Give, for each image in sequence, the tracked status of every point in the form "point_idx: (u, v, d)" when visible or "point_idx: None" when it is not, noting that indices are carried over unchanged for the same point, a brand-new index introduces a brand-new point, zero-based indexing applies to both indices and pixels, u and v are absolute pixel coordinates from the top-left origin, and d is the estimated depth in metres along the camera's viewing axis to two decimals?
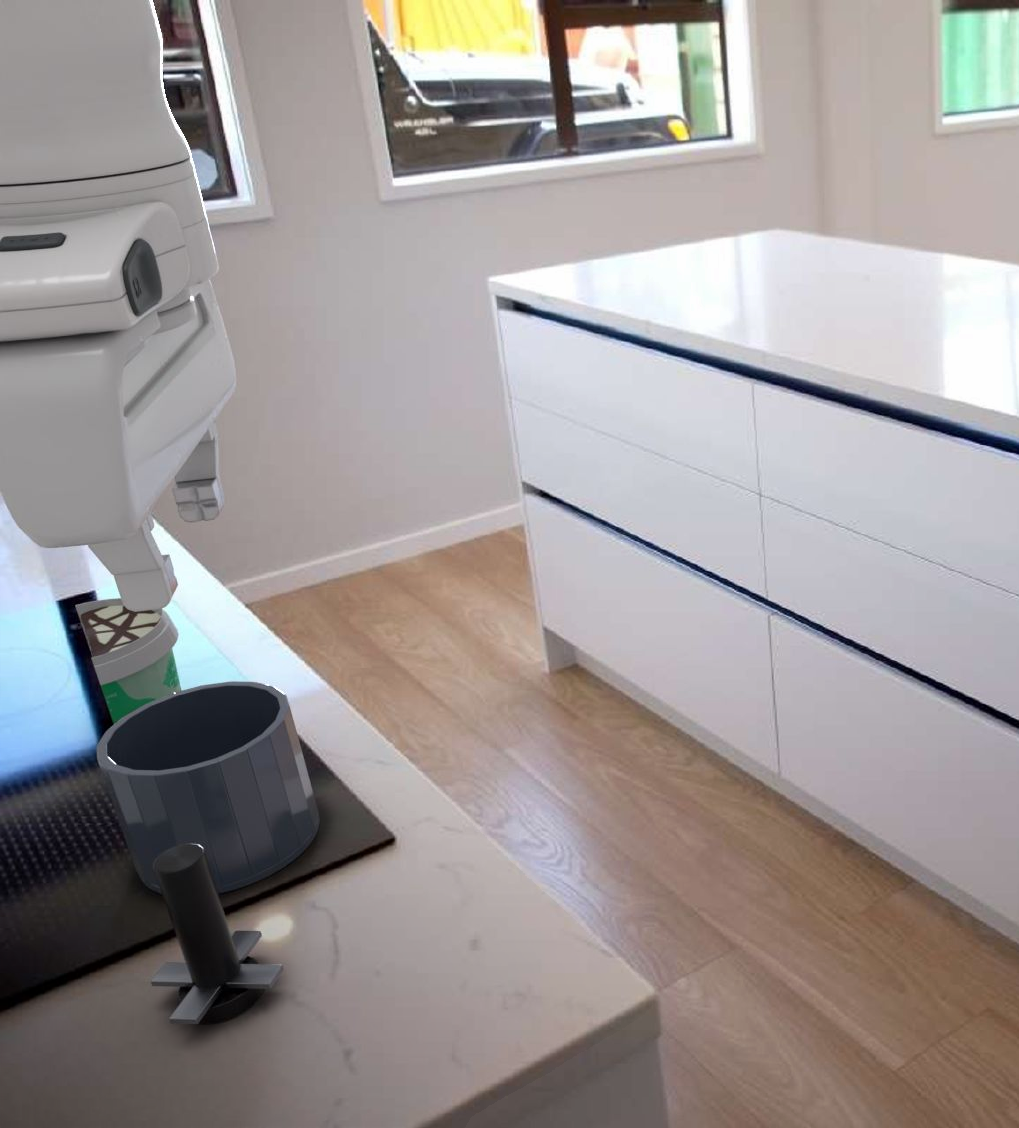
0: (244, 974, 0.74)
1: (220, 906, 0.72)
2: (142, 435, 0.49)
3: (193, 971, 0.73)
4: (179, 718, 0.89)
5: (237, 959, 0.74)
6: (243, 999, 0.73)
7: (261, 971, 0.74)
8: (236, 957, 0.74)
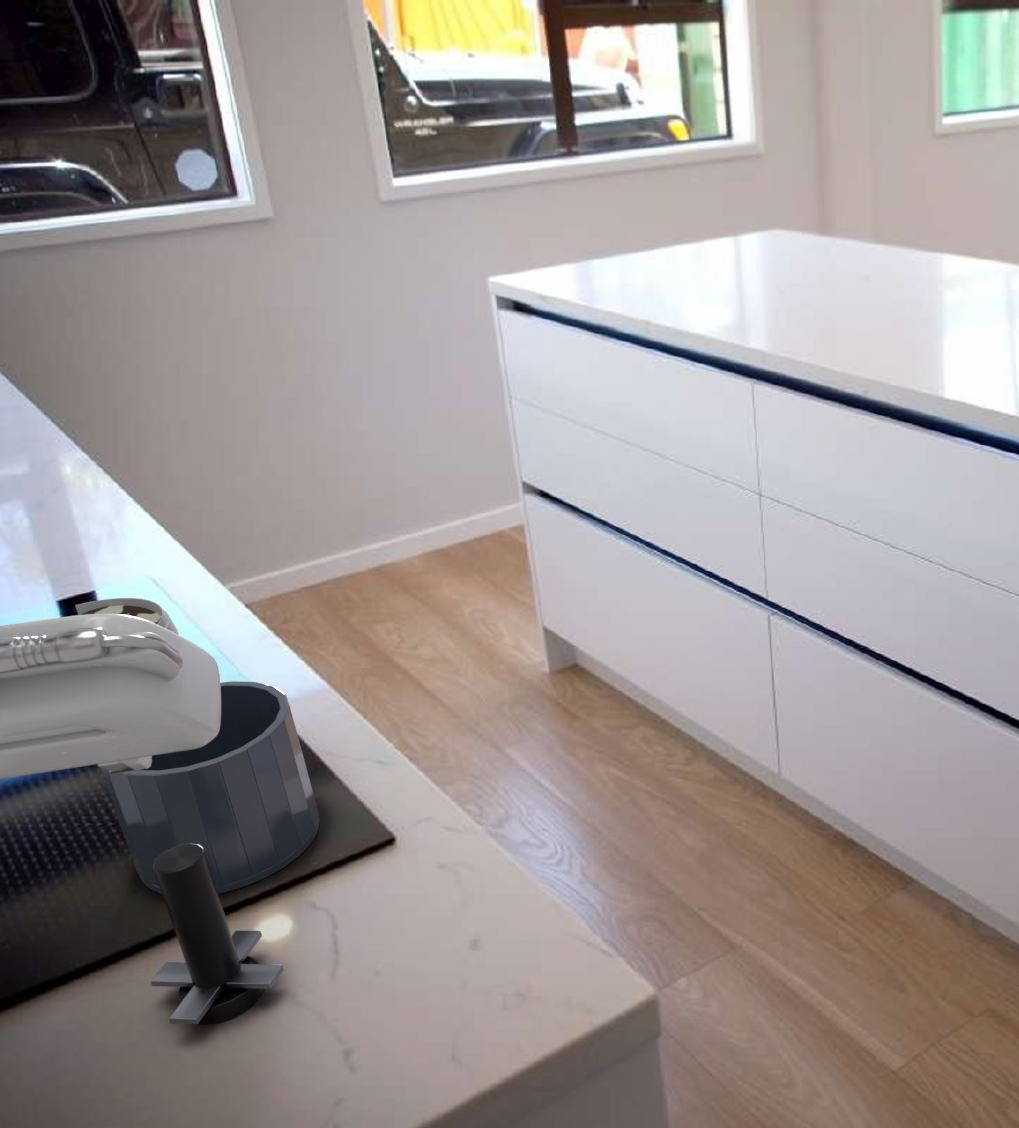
0: (244, 974, 0.74)
1: (220, 906, 0.72)
2: None
3: (193, 971, 0.73)
4: None
5: (237, 959, 0.74)
6: (243, 999, 0.73)
7: (261, 971, 0.74)
8: (236, 957, 0.74)
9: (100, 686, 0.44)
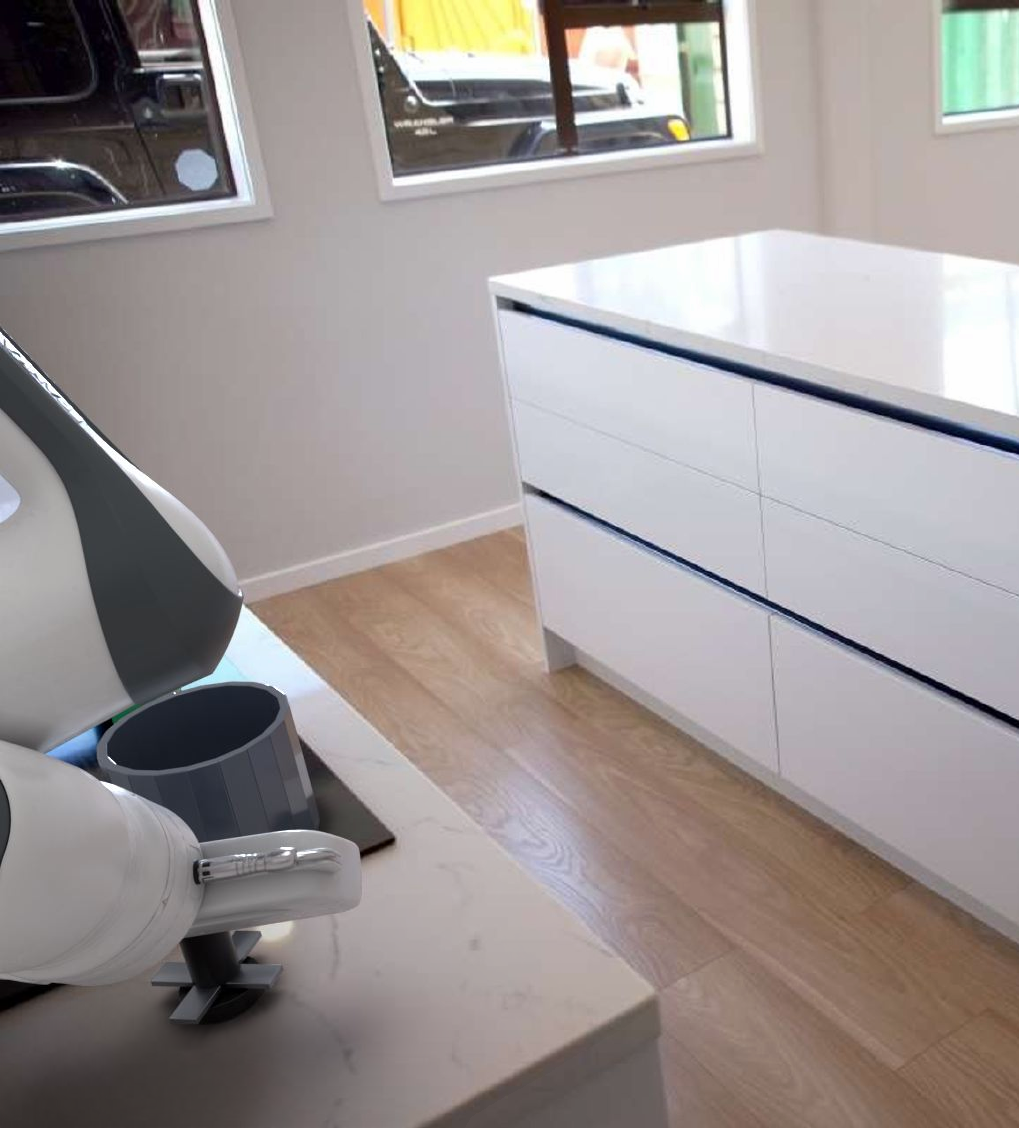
0: (244, 974, 0.74)
1: None
2: None
3: (193, 971, 0.73)
4: (179, 718, 0.89)
5: (237, 959, 0.74)
6: (243, 999, 0.73)
7: (261, 971, 0.74)
8: (236, 957, 0.74)
9: (291, 886, 0.63)
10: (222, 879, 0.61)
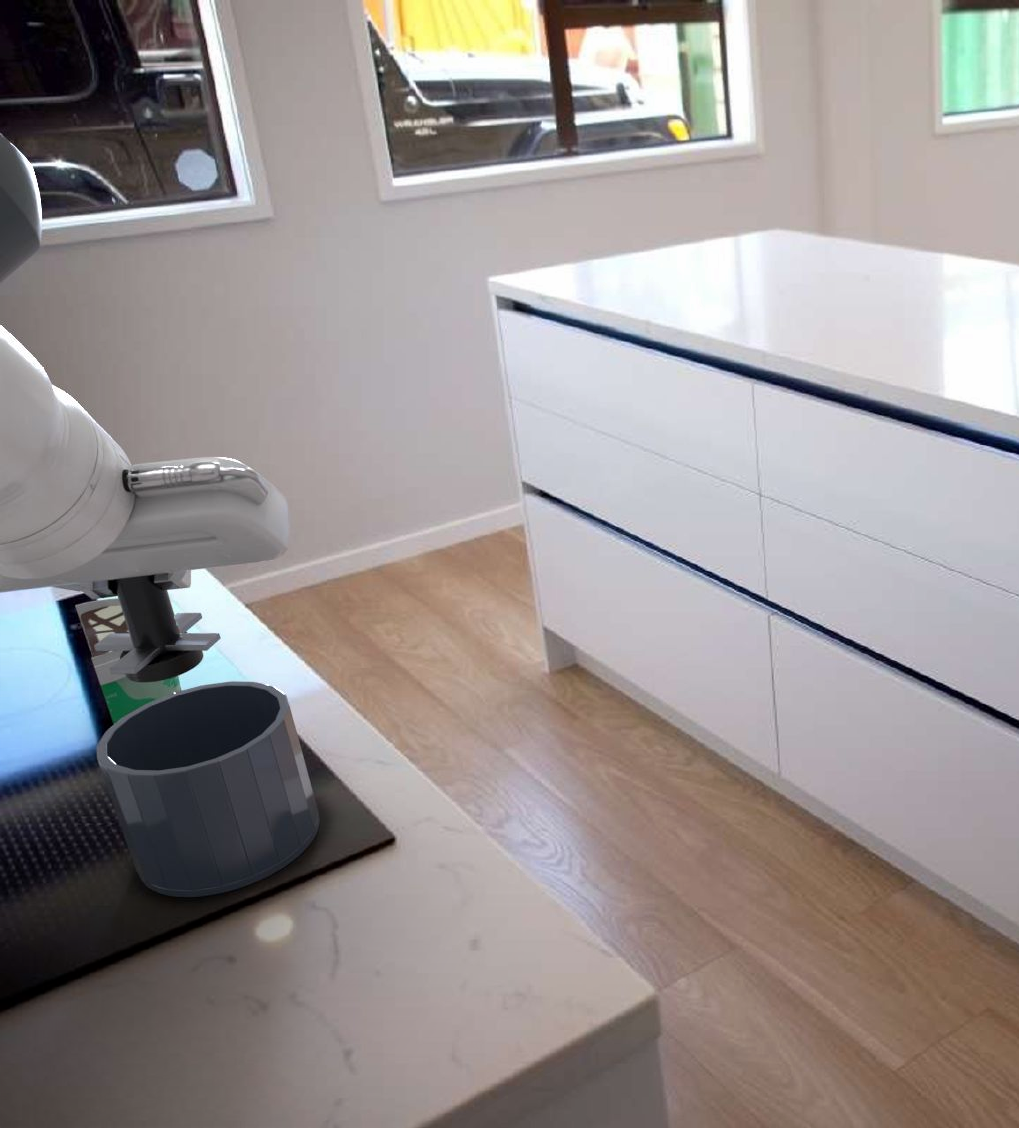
0: (183, 639, 0.78)
1: None
2: None
3: (133, 631, 0.77)
4: (179, 718, 0.89)
5: (176, 626, 0.78)
6: (181, 661, 0.78)
7: (199, 637, 0.78)
8: (175, 624, 0.78)
9: (216, 502, 0.67)
10: (150, 487, 0.66)
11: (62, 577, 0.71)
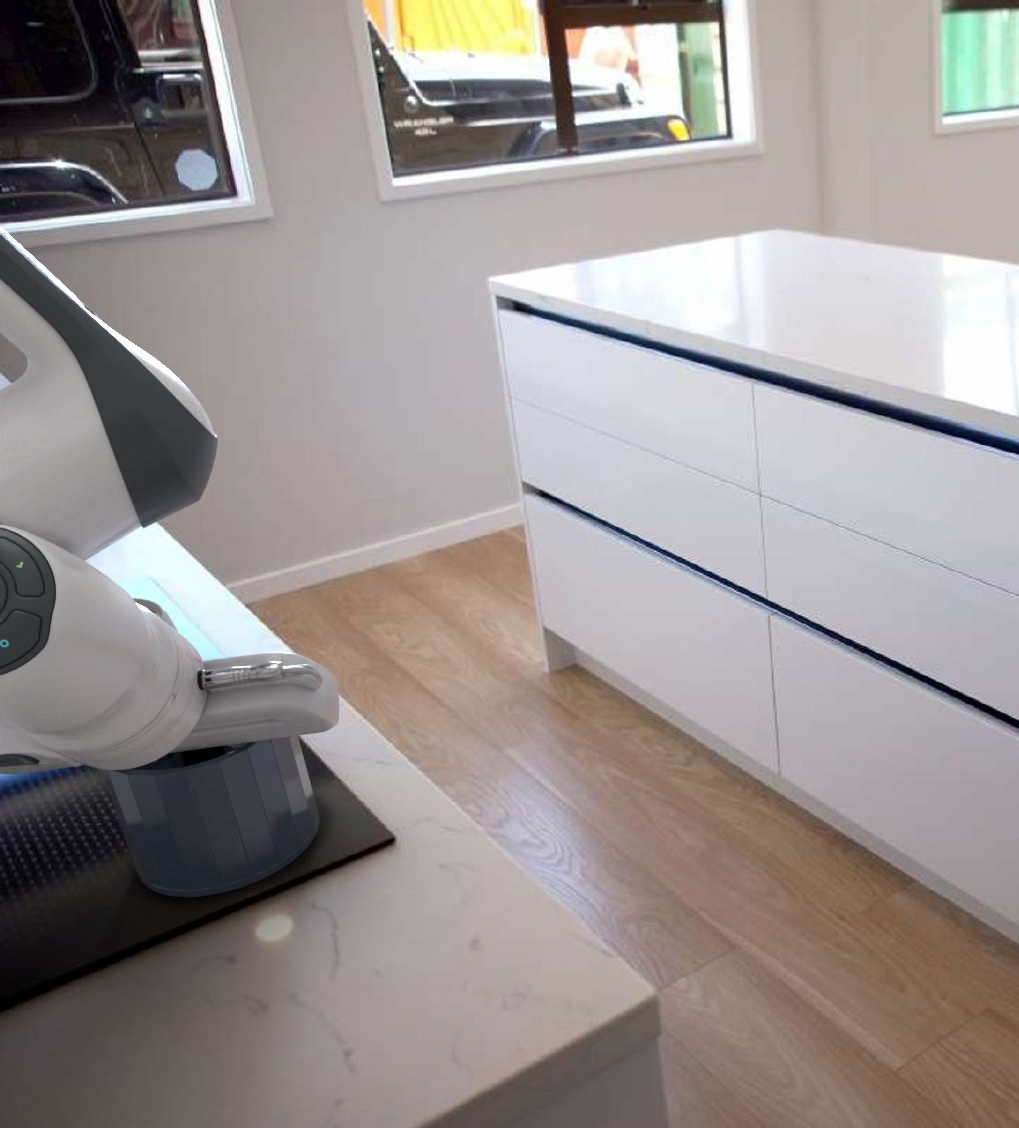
0: None
1: None
2: None
3: None
4: None
5: None
6: None
7: None
8: None
9: (278, 695, 0.76)
10: (221, 685, 0.74)
11: None
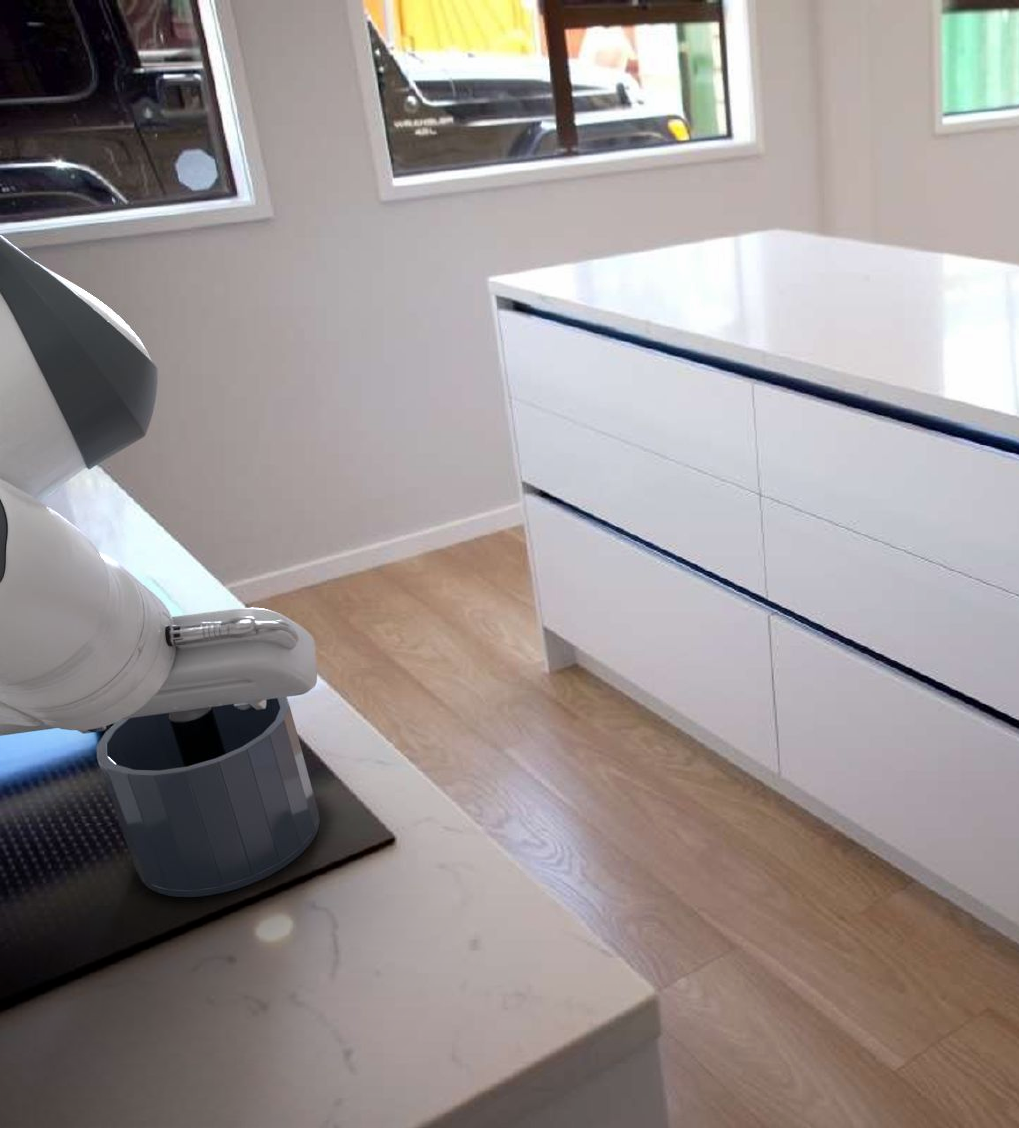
0: None
1: None
2: None
3: None
4: None
5: None
6: None
7: None
8: None
9: (251, 653, 0.72)
10: (191, 641, 0.70)
11: None
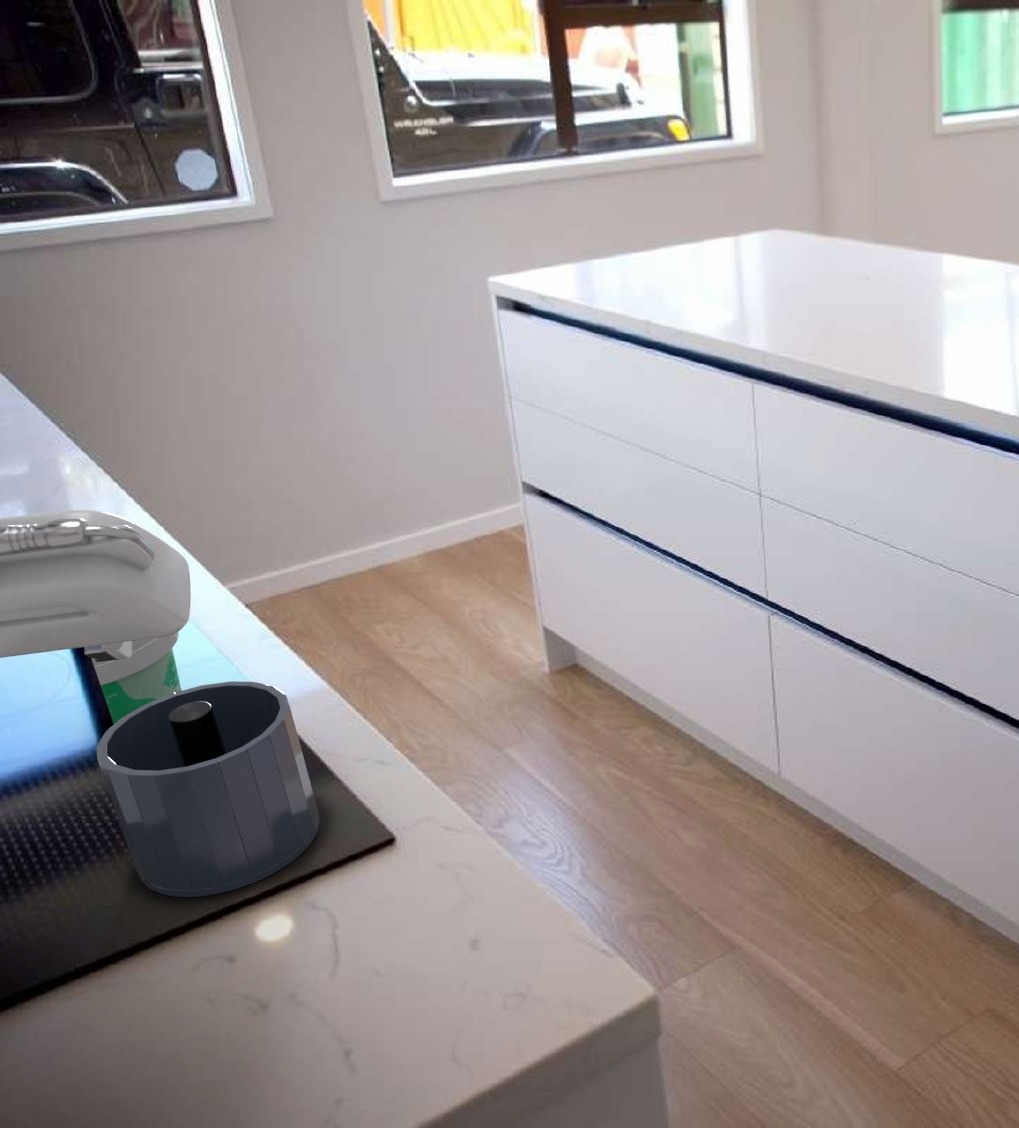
0: None
1: None
2: None
3: None
4: None
5: None
6: None
7: None
8: None
9: (83, 570, 0.52)
10: None
11: None
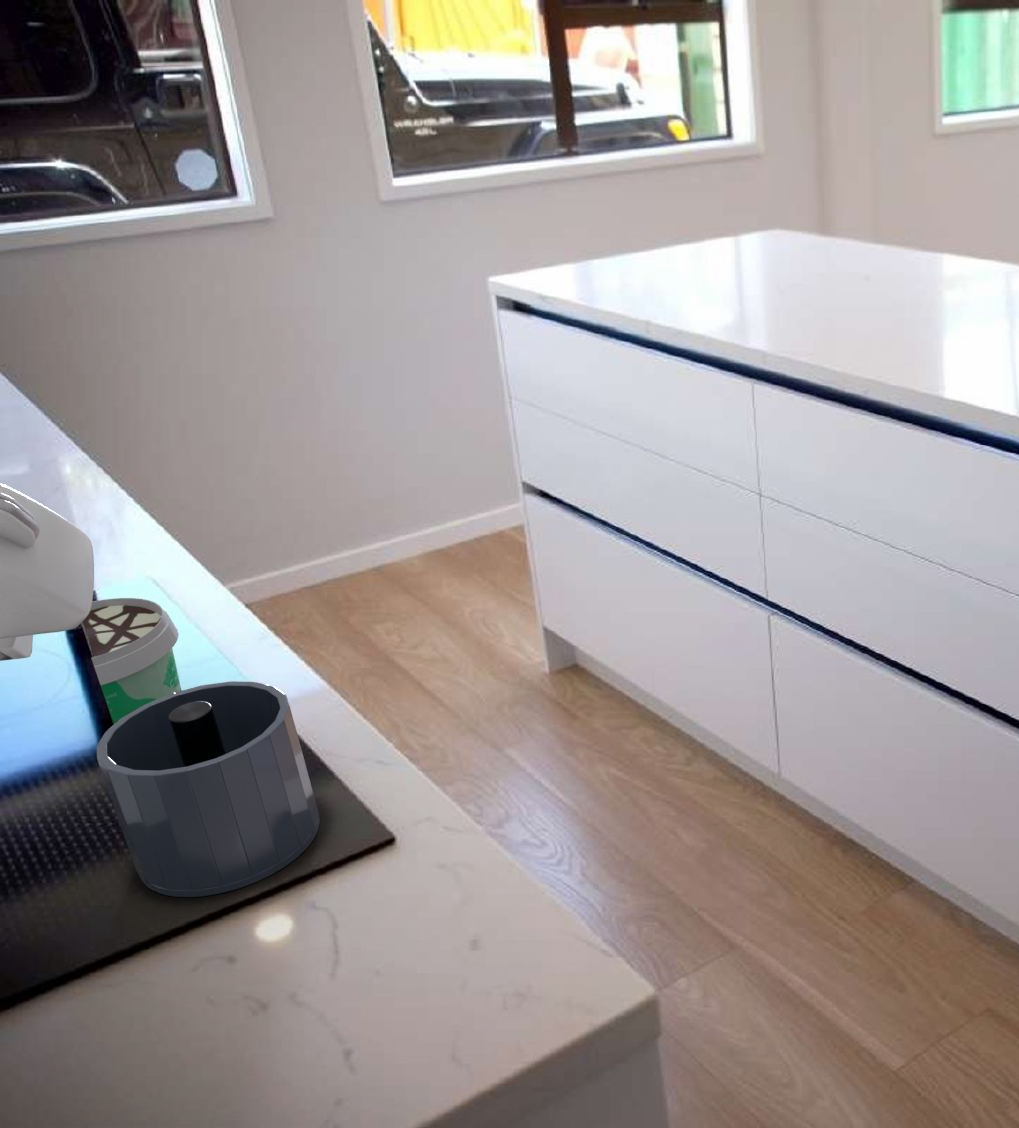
0: None
1: None
2: None
3: None
4: None
5: None
6: None
7: None
8: None
9: None
10: None
11: None
